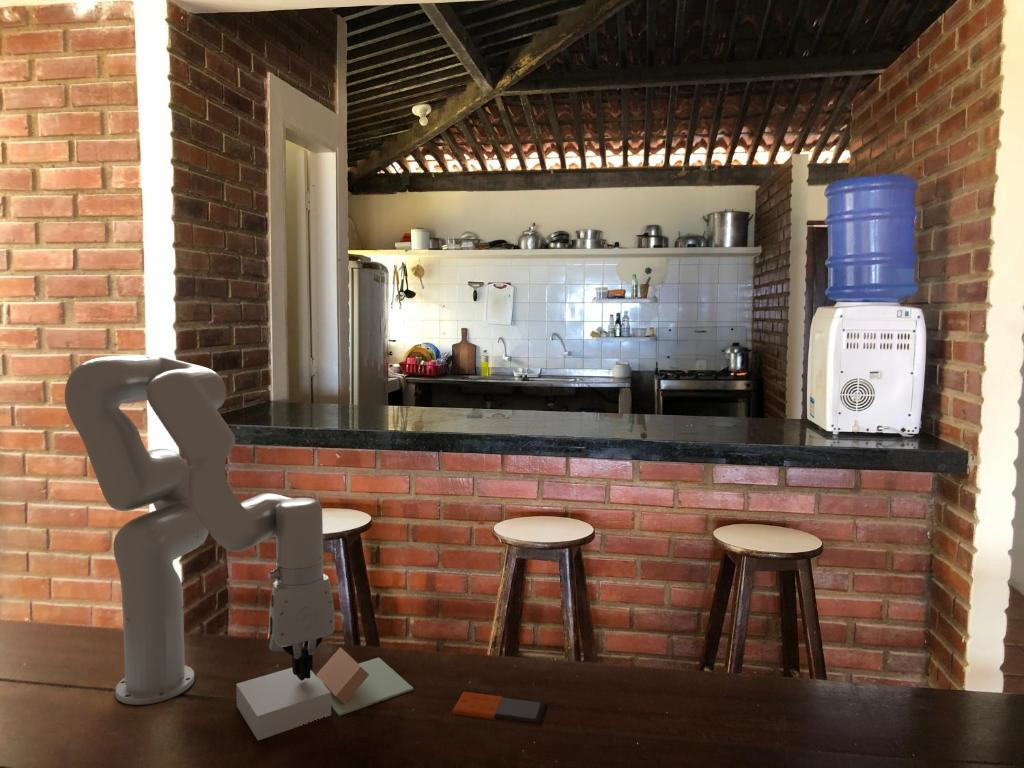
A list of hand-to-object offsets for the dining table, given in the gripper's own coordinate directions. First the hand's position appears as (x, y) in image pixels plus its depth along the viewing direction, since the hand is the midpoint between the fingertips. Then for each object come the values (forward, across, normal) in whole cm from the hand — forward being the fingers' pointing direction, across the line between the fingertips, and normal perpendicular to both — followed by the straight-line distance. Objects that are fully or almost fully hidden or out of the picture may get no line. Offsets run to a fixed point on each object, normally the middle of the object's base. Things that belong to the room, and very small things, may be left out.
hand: (302, 676), depth 116 cm
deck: (+5, -3, 0) cm, 6 cm away
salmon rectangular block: (+1, +6, 0) cm, 6 cm away
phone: (+6, +27, -21) cm, 34 cm away
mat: (+5, +11, 0) cm, 12 cm away
